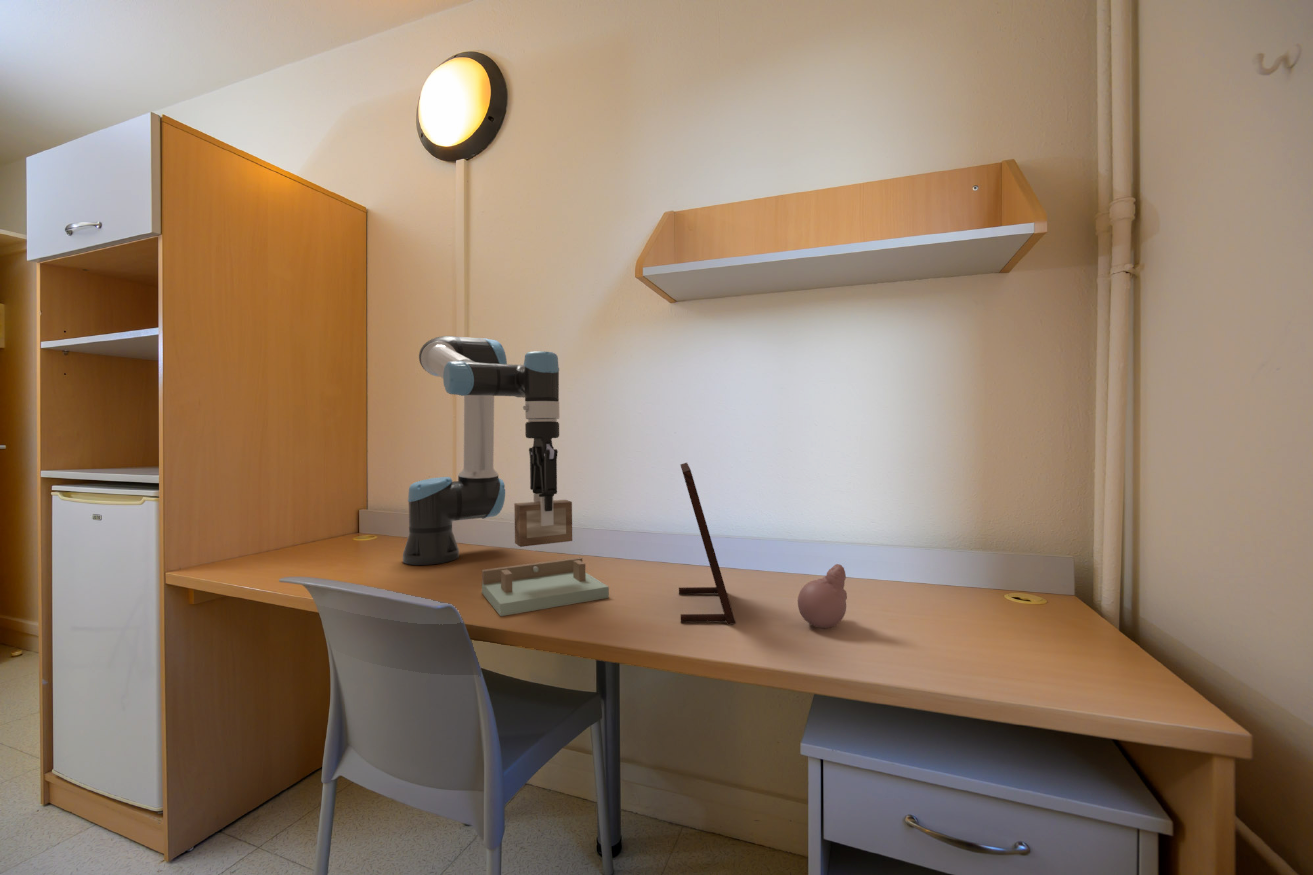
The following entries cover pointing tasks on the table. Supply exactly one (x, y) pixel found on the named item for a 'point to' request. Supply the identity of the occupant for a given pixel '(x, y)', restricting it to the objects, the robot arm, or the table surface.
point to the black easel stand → (713, 563)
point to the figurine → (824, 599)
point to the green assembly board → (540, 586)
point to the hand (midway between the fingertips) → (543, 523)
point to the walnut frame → (530, 524)
